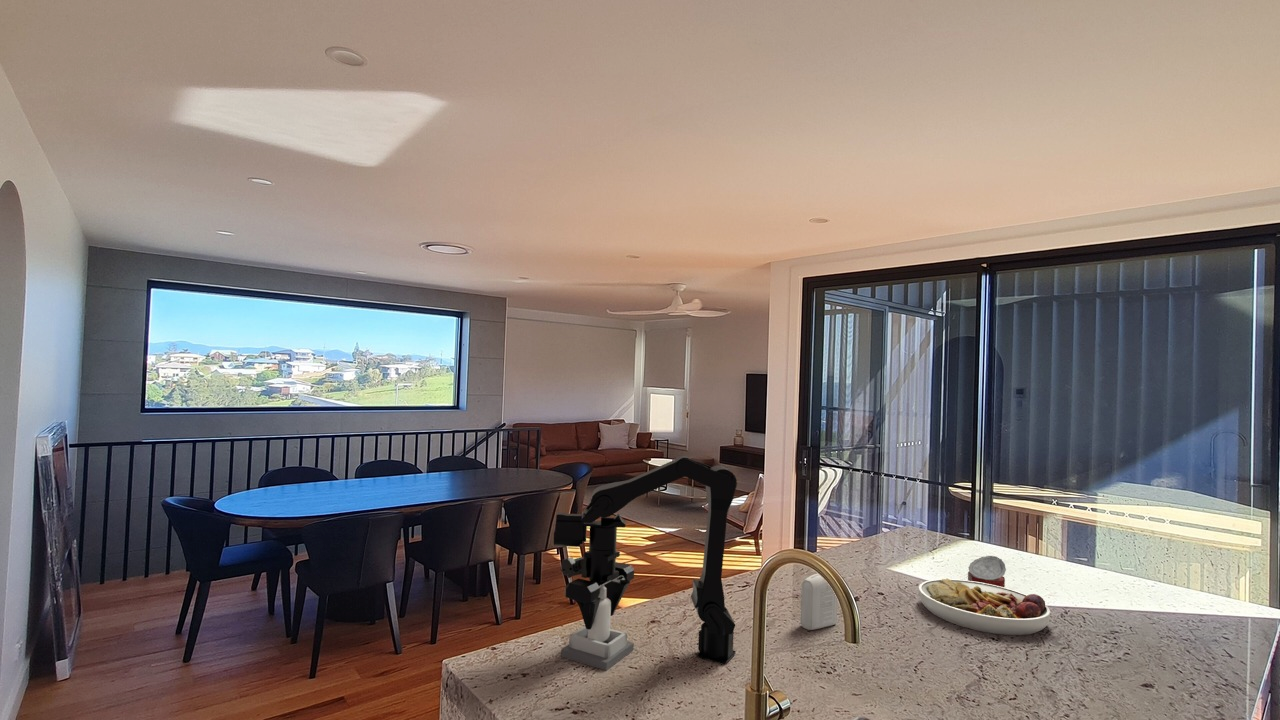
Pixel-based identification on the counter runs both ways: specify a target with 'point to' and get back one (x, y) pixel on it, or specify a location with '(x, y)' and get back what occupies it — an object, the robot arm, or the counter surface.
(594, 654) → the grey square bottle holder
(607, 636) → the eye dropper bottle
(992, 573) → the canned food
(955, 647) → the counter surface
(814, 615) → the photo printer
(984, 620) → the bowl
